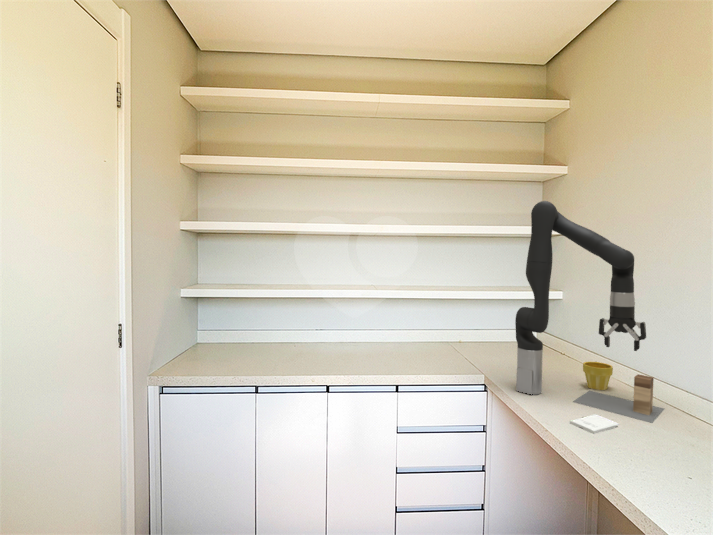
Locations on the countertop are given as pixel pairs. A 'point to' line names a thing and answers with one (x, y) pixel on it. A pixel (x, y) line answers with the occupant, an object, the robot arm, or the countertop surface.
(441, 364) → the countertop surface
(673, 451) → the countertop surface
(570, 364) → the countertop surface
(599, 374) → the plant pot
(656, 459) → the countertop surface
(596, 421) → the external hard drive
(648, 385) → the block
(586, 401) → the mat
